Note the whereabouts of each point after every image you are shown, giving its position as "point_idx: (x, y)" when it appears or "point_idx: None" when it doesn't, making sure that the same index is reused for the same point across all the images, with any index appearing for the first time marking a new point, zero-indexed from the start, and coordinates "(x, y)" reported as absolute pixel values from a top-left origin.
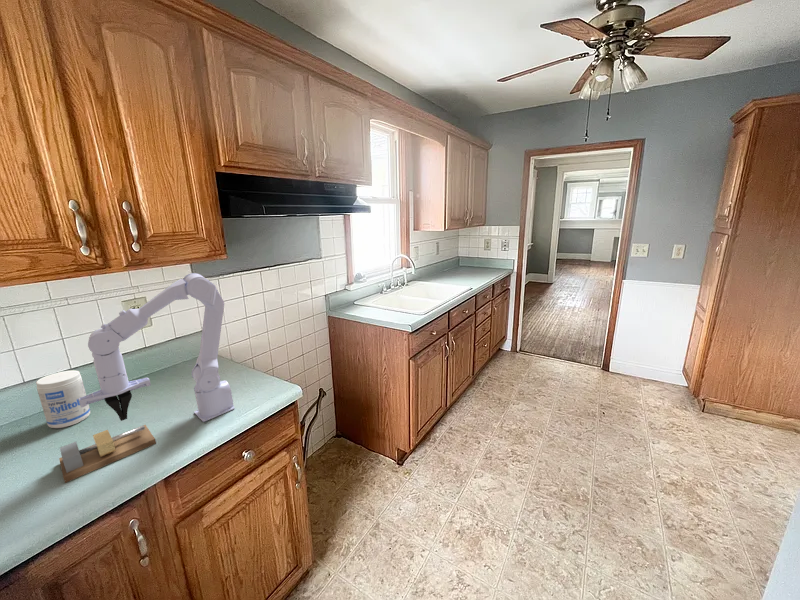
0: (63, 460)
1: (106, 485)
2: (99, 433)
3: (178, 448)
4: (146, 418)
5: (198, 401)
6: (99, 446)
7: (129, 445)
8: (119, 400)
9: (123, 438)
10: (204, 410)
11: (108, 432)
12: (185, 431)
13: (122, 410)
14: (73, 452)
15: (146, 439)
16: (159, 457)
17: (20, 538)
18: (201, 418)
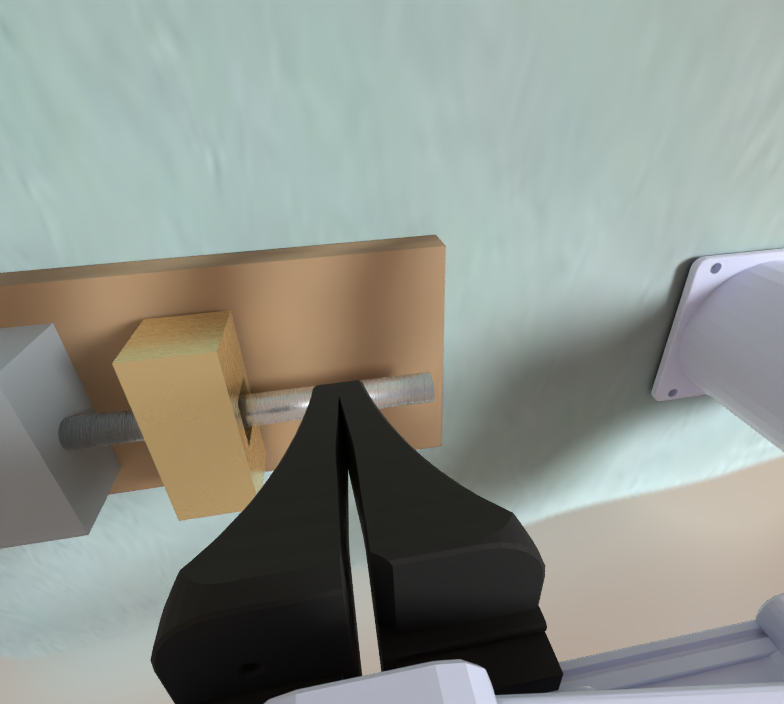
0: (3, 547)
1: None
2: (161, 372)
3: None
4: (478, 39)
5: (769, 417)
6: (190, 517)
7: None
8: (367, 548)
9: (306, 333)
10: (718, 399)
11: (226, 398)
12: (560, 412)
13: (357, 501)
14: (36, 502)
15: (408, 428)
16: None
17: (19, 647)
18: (665, 373)
